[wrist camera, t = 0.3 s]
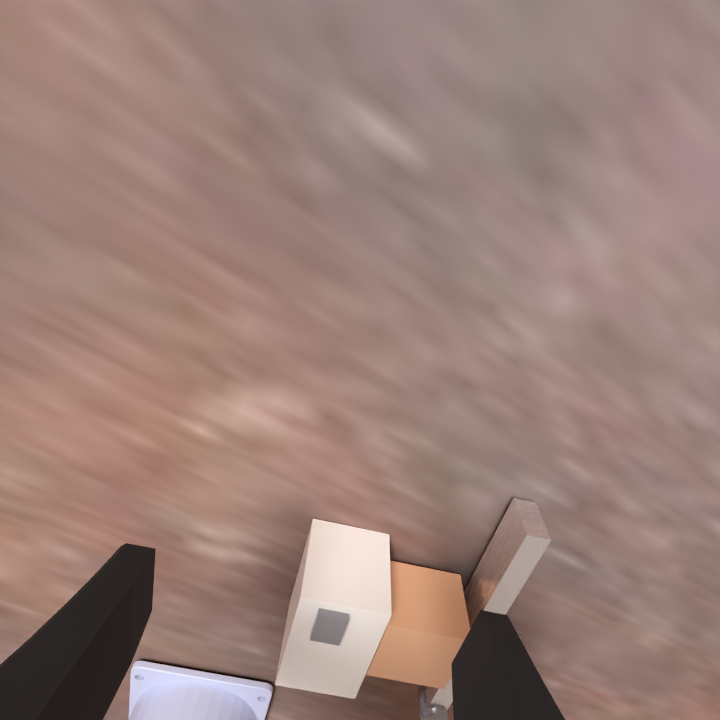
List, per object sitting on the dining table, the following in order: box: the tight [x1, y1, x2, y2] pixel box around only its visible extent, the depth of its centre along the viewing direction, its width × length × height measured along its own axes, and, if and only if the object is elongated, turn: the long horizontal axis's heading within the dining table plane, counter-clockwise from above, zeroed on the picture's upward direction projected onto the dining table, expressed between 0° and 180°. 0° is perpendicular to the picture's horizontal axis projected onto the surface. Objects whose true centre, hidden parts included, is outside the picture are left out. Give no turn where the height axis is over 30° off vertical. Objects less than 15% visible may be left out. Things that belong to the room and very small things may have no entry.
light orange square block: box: [366, 561, 470, 689], centre depth 22 cm, size 4×4×3 cm
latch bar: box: [418, 498, 551, 720], centre depth 22 cm, size 14×1×2 cm, turn 166°
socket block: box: [275, 519, 392, 699], centre depth 21 cm, size 6×4×4 cm, turn 166°
